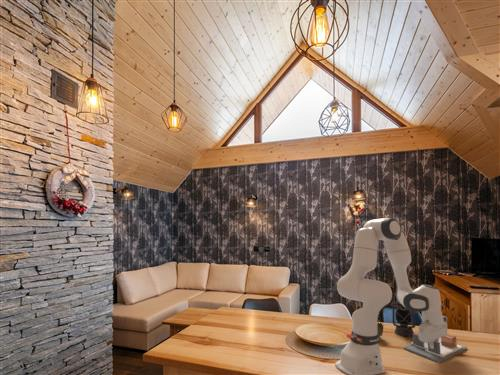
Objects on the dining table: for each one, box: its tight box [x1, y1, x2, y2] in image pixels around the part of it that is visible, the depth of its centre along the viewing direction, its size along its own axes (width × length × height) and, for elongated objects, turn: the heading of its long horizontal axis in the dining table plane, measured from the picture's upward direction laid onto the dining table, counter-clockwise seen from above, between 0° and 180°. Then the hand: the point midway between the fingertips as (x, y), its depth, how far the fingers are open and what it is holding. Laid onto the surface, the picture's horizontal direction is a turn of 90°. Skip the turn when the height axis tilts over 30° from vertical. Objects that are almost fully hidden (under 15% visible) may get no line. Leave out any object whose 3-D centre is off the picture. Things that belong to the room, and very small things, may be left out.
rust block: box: [440, 333, 458, 348], centre depth 150 cm, size 5×5×5 cm
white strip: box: [425, 341, 464, 357], centre depth 148 cm, size 20×8×6 cm, turn 121°
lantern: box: [390, 287, 416, 338], centre depth 173 cm, size 12×11×30 cm
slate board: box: [403, 343, 468, 364], centre depth 150 cm, size 28×17×1 cm, turn 121°
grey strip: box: [410, 332, 441, 349], centre depth 156 cm, size 20×8×6 cm, turn 121°
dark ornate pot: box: [377, 321, 384, 340], centre depth 165 cm, size 8×7×8 cm
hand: (434, 347), depth 143 cm, fingers closed on white strip, 2 cm apart
